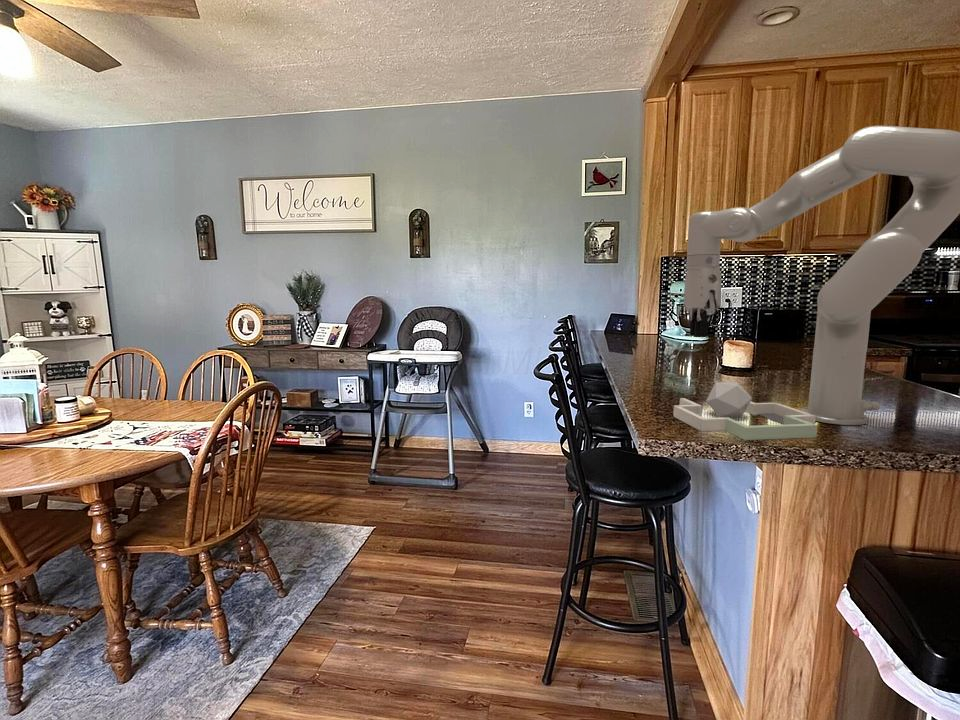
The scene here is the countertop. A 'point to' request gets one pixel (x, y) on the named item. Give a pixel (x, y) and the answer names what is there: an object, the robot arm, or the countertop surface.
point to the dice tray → (792, 420)
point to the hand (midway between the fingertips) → (698, 335)
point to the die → (728, 399)
